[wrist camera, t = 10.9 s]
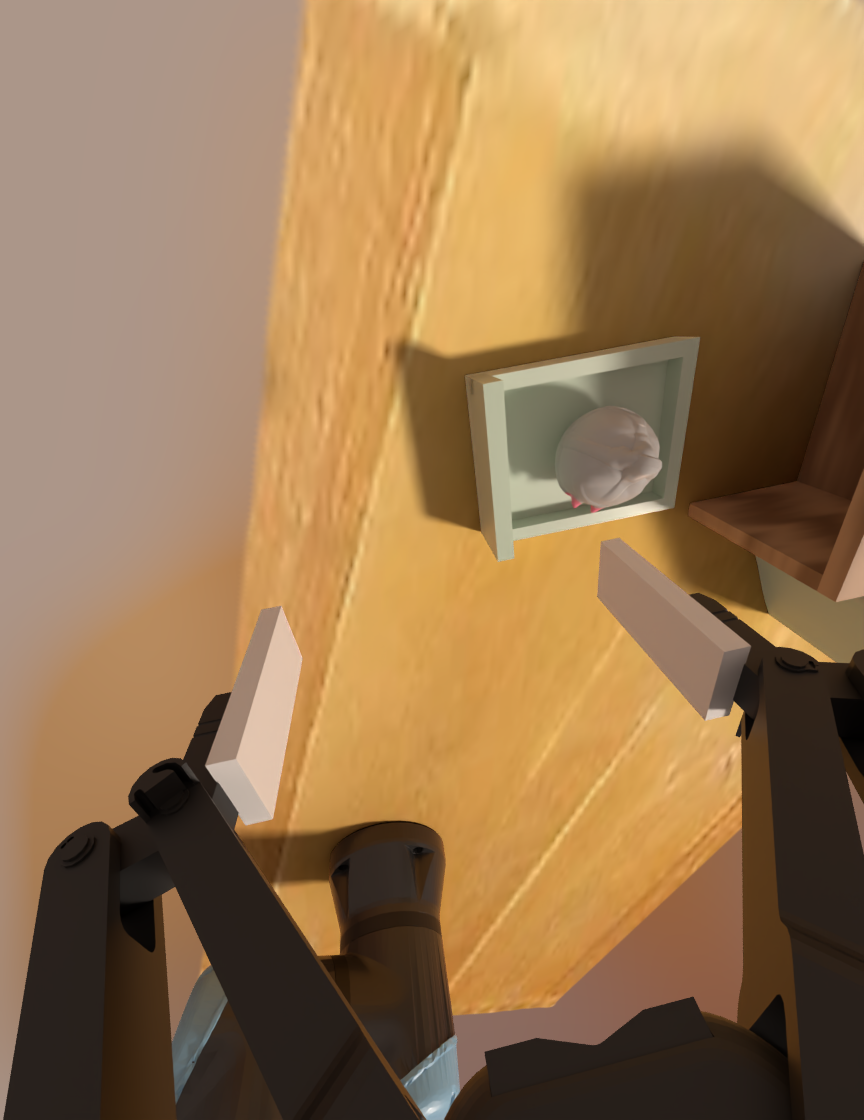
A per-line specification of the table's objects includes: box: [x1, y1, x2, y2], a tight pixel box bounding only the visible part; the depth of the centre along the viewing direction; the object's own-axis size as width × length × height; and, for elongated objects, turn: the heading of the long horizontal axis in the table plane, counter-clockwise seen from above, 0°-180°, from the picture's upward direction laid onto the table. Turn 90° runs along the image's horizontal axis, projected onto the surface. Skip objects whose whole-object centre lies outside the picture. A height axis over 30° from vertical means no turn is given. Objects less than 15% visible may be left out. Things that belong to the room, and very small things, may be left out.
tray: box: [465, 336, 700, 562], centre depth 29 cm, size 15×12×5 cm
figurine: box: [555, 406, 662, 513], centre depth 27 cm, size 7×7×8 cm
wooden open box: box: [688, 262, 864, 602], centre depth 27 cm, size 11×17×13 cm, turn 9°
